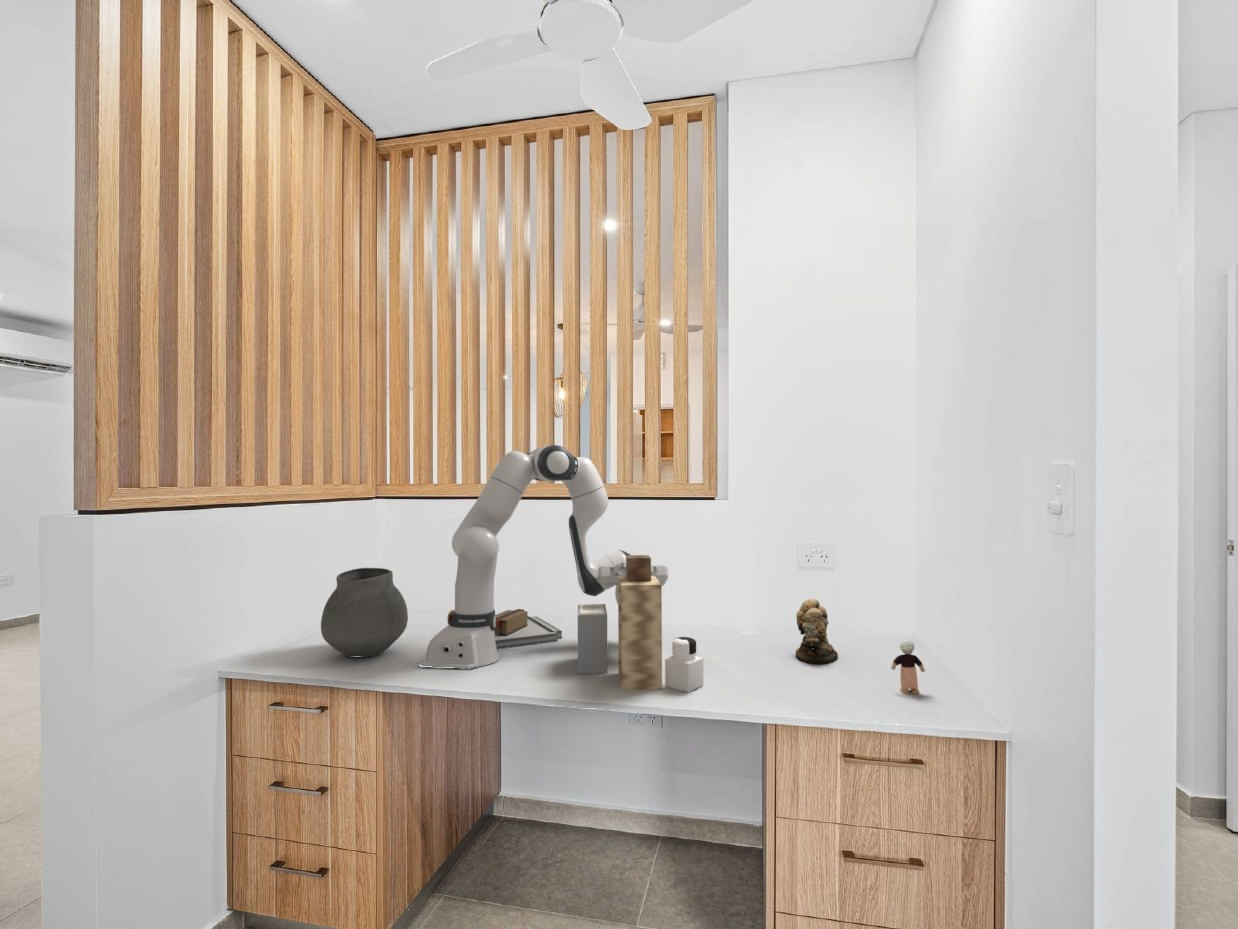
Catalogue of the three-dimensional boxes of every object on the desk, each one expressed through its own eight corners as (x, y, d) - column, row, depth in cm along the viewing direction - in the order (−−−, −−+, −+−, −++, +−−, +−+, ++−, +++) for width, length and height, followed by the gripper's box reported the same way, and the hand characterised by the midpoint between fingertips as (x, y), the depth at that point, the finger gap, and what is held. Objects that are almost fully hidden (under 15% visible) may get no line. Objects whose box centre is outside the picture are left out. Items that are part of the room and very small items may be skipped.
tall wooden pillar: (622, 690, 157) (621, 585, 157) (618, 673, 171) (618, 576, 171) (662, 689, 157) (661, 584, 158) (655, 672, 171) (654, 576, 172)
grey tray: (451, 632, 218) (451, 610, 218) (534, 623, 232) (534, 603, 232) (472, 654, 191) (472, 629, 192) (564, 642, 205) (564, 619, 205)
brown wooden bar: (627, 581, 163) (627, 558, 163) (623, 571, 180) (623, 550, 180) (651, 581, 163) (650, 558, 163) (644, 571, 181) (644, 550, 181)
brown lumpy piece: (836, 668, 175) (835, 606, 175) (792, 664, 179) (791, 603, 179) (838, 650, 192) (837, 594, 192) (798, 647, 196) (797, 592, 196)
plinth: (577, 673, 170) (577, 614, 170) (577, 659, 184) (577, 603, 184) (607, 673, 170) (607, 613, 171) (605, 658, 184) (605, 603, 185)
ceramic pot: (300, 662, 182) (301, 575, 182) (358, 641, 205) (359, 563, 206) (371, 669, 175) (372, 578, 175) (423, 646, 198) (424, 566, 198)
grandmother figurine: (918, 688, 157) (918, 637, 157) (926, 694, 153) (926, 641, 154) (888, 689, 157) (887, 638, 157) (895, 694, 153) (895, 642, 153)
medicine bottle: (680, 680, 165) (680, 633, 165) (704, 685, 160) (703, 638, 160) (664, 687, 159) (664, 639, 159) (688, 693, 155) (688, 643, 155)
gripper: (596, 572, 190) (597, 554, 178) (663, 571, 191) (669, 553, 179) (596, 593, 186) (597, 575, 175) (665, 591, 188) (671, 574, 176)
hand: (634, 564), depth 177 cm, fingers open, 6 cm apart
